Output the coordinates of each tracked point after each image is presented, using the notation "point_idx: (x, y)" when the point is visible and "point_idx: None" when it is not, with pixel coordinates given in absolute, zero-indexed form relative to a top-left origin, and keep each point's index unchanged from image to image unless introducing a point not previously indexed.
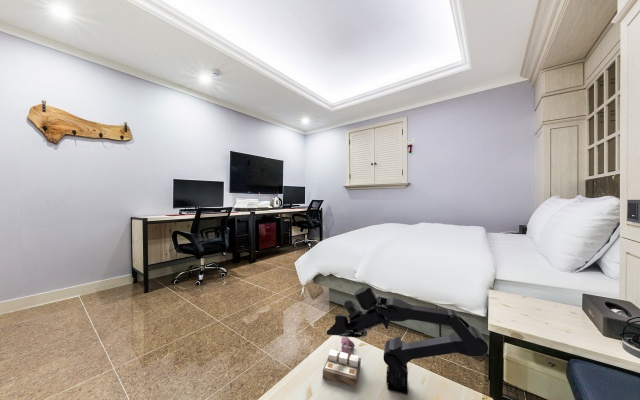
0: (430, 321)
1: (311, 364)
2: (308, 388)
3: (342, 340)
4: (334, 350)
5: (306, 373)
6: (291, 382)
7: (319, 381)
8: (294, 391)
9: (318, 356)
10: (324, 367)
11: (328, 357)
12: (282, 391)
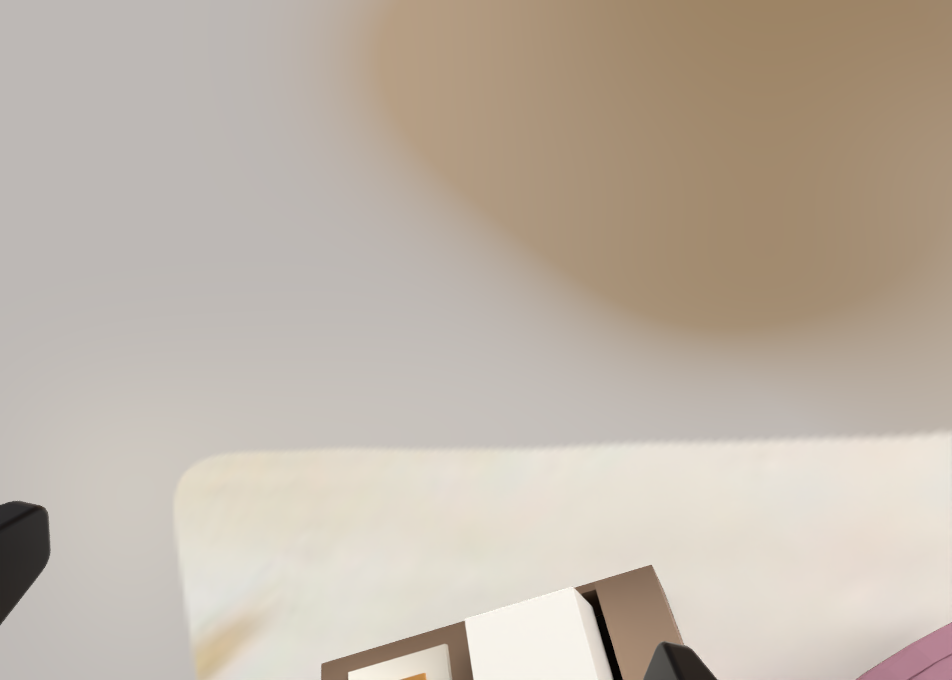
0: None
1: (468, 475)
2: (241, 621)
3: (923, 664)
4: (586, 653)
5: (364, 507)
6: (259, 476)
7: None
8: (200, 545)
9: (595, 460)
10: (359, 659)
11: None
12: (188, 481)
